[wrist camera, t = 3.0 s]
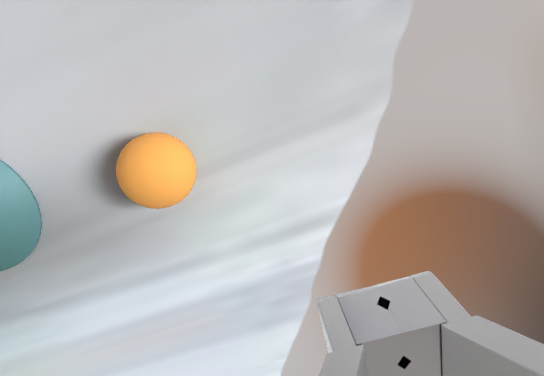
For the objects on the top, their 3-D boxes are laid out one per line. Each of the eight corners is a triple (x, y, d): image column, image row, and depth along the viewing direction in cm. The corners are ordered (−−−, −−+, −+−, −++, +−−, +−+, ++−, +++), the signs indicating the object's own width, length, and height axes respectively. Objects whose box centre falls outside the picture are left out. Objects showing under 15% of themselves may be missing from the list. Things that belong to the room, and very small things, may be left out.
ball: (117, 134, 25) (88, 156, 20) (186, 117, 26) (174, 134, 20) (144, 197, 28) (124, 230, 23) (208, 181, 28) (202, 211, 23)
